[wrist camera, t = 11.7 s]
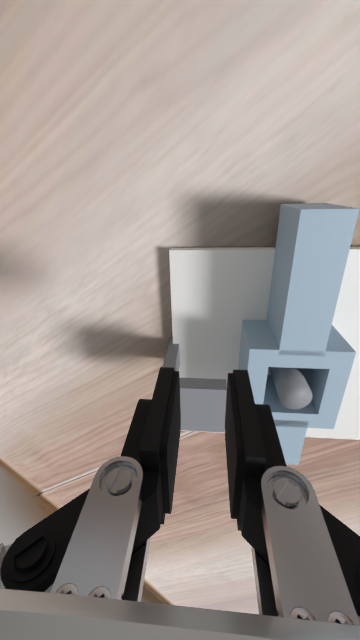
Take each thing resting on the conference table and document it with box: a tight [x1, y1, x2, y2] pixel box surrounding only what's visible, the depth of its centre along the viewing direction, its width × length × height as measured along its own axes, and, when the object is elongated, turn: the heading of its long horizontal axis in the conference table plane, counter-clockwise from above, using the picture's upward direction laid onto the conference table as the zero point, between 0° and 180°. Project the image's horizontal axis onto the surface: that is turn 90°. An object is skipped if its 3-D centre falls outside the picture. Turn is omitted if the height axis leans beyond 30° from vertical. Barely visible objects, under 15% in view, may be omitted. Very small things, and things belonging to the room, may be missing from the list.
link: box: [238, 203, 359, 465], centre depth 23 cm, size 21×7×5 cm, turn 1°
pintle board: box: [163, 247, 360, 440], centre depth 24 cm, size 20×20×8 cm
